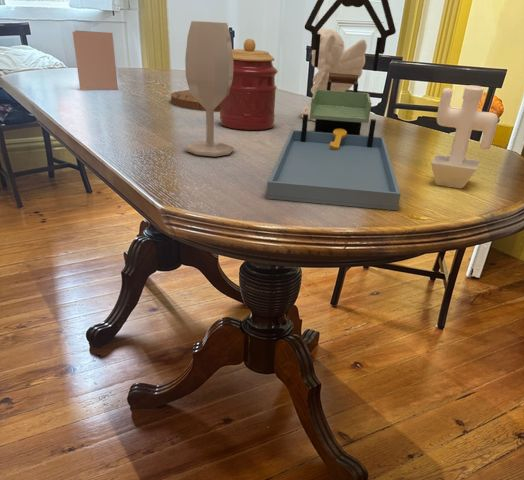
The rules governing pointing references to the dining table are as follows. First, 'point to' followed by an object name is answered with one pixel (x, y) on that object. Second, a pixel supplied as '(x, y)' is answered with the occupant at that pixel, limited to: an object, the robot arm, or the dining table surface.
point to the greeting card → (95, 60)
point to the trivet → (188, 101)
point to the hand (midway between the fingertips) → (345, 68)
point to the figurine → (462, 136)
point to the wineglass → (209, 76)
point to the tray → (335, 172)
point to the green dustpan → (341, 101)
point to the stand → (331, 125)
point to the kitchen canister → (250, 90)
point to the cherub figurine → (335, 62)
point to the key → (337, 138)
